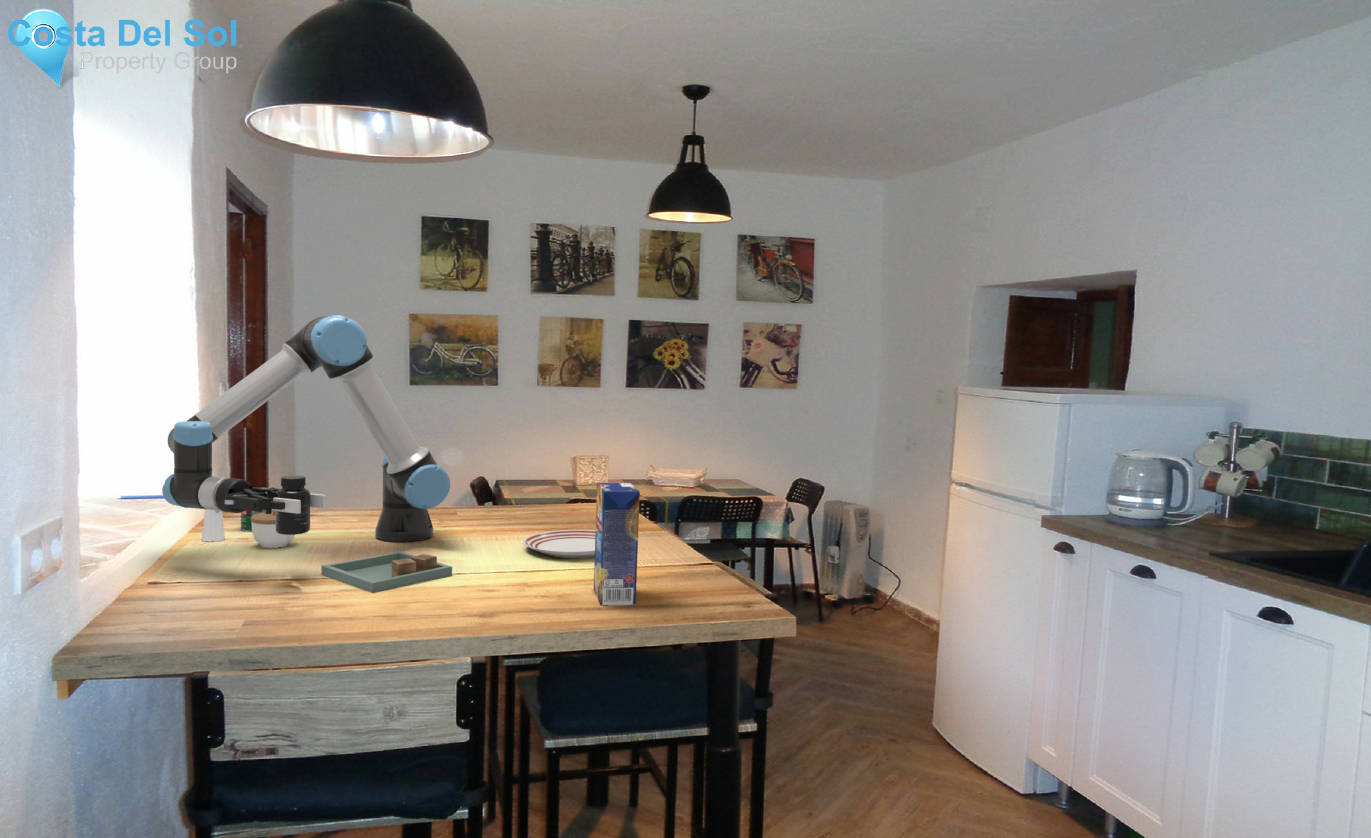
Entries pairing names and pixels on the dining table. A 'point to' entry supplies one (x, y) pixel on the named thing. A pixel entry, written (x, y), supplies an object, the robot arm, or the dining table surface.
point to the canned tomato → (248, 518)
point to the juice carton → (616, 543)
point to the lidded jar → (268, 531)
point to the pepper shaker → (213, 526)
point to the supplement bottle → (294, 521)
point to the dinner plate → (564, 543)
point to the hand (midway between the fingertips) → (312, 504)
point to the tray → (380, 572)
